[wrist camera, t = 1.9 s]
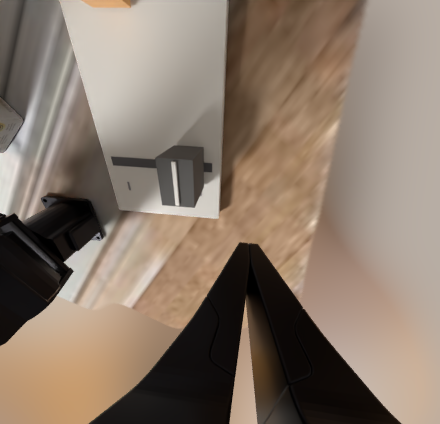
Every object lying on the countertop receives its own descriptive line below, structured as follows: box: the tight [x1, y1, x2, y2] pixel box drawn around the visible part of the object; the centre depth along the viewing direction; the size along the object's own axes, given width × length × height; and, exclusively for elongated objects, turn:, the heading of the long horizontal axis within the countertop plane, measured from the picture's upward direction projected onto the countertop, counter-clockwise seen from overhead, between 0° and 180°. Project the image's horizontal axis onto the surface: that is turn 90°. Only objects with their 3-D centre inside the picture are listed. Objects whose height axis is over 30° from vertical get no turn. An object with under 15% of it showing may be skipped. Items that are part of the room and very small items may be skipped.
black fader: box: [155, 145, 204, 208], centre depth 16 cm, size 3×4×5 cm
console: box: [59, 0, 229, 219], centre depth 16 cm, size 12×25×2 cm, turn 178°
